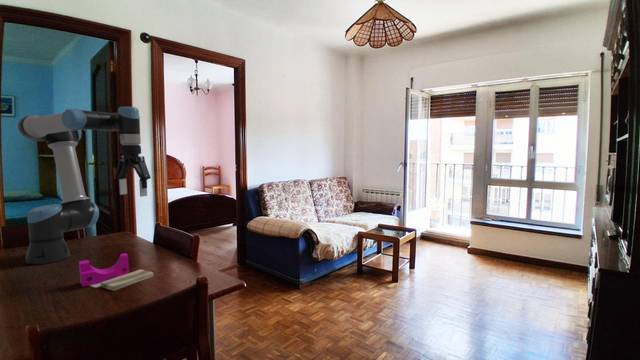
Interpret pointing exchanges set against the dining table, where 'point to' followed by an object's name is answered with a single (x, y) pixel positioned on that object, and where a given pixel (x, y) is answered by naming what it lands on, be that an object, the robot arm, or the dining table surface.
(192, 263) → the dining table surface
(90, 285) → the mat
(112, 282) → the board
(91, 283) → the toy block
